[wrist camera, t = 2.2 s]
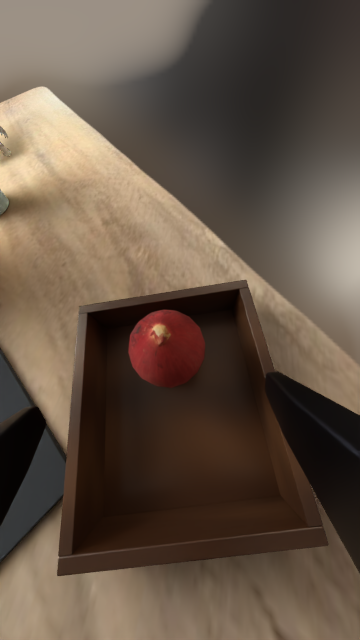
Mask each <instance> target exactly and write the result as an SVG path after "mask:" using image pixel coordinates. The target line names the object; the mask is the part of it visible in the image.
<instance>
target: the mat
mask: <svg viewBox="0 0 360 640" xmlns="http://www.w3.org/2000/svg"><path fill="white" fill-rule="evenodd" d="M32 406H35V404H34V403H33V401H32V399H31V398H30V396H29V394H28V393H27V391H26V390H25V388H24V386H23V385H22V383H21V381H20V380H19V378H18V376H17V375H16V373H15V371H14V370H13V368H12V366H11V365H10V363H9V362H8V360H7V358H6V357H5V355H4V353H3V352H2V350H1V348H0V423H2V422H3V421H5V420H6V419H8V418H9V417H11V416H12V415H14V414H16V413H17V412H19V411H20V410H22V409H23V408H26V407H32ZM66 458H67V457H66V455H65V454H64V452H63V450H62V449H61V447H60V446H59V444H58V442H57V441H56V439H55V437H54V436H53V434H52V432H51V431H50V429H49V427H48V426H47V424H46V427H45V430H44V432H43V435H42V437H41V440H40V442H39V445H38V447H37V450H36V452H35V455H34V457H33V460H32V462H31V465H30V467H29V469H28V472H27V474H26V476H25V478H24V480H23V482H22V484H21V486H20V488H19V490H18V492H17V494H16V496H15V498H14V500H13V502H12V504H11V506H10V508H9V510H8V512H7V514H6V517H5V519H4V521H3V523H2V525H1V527H0V562H1V561H2V560H3V559H4V558H5V557H6V556H7V555H8V554H9V553H10V552H11V551H12V550H13V549H14V548H15V547H16V546H17V544H18V543H19V542H20V541H21V540H22V539H23V538H24V537H25V536H26V535H27V534H28V533H29V532H30V531H31V530H32V529H33V528H34V527H35V525H36V524H37V523H38V522H39V521H40V520H41V519H42V518H43V517H44V516H45V515H46V514H47V513H48V512H49V511H50V510H51V509H52V508H53V507H54V505H55V504H56V503H57V502H58V501H59V500H60V499H61V498H62V497H63V494H64V482H65V470H66Z"/></svg>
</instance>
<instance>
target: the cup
mask: <svg viewBox="0 0 360 640" xmlns="http://www.w3.org/2000/svg"><path fill="white" fill-rule="evenodd" d="M8 205H9V200H8V199H7V197H6V196H5V195H4V193H3V192H2V191H1V190H0V215H1V214H2V213H3V212H4V211H5V210H6V209H7V207H8Z"/></svg>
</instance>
